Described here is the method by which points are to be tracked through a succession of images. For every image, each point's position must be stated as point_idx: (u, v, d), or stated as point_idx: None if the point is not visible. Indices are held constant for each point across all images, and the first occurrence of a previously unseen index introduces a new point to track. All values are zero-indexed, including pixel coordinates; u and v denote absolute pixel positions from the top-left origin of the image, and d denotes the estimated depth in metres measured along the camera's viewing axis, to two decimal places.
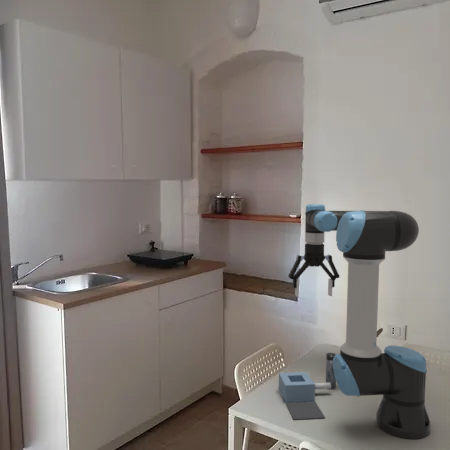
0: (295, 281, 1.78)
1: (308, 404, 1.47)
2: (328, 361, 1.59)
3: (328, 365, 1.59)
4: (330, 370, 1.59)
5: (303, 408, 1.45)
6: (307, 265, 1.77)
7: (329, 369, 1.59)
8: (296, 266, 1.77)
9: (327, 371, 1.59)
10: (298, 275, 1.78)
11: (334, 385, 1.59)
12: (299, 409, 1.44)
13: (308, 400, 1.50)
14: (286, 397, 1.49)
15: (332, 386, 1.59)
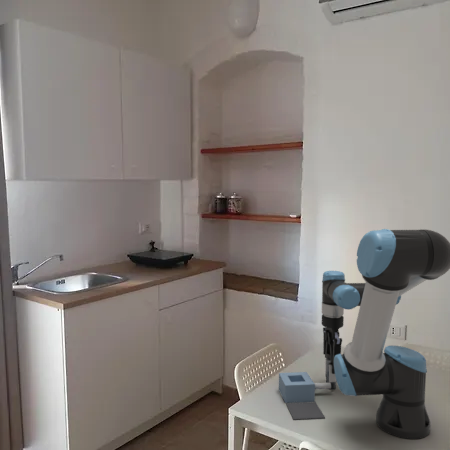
0: None
1: (308, 404, 1.47)
2: (328, 361, 1.59)
3: (328, 365, 1.59)
4: None
5: (303, 408, 1.45)
6: (325, 338, 1.61)
7: None
8: (323, 339, 1.65)
9: (327, 371, 1.59)
10: (325, 352, 1.62)
11: (334, 385, 1.59)
12: (299, 409, 1.44)
13: (308, 400, 1.50)
14: (286, 397, 1.49)
15: (332, 386, 1.59)
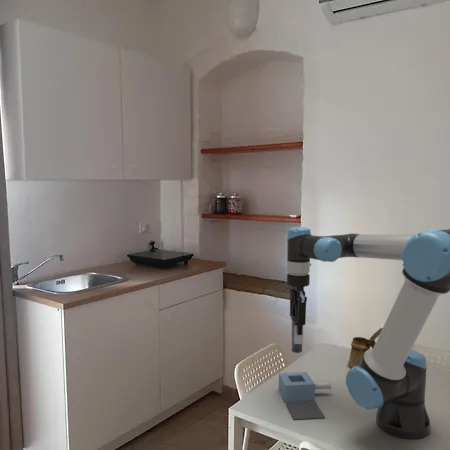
0: None
1: (308, 404, 1.47)
2: (293, 323, 1.51)
3: (294, 327, 1.51)
4: None
5: (303, 408, 1.45)
6: (291, 299, 1.53)
7: (294, 331, 1.51)
8: (290, 301, 1.57)
9: (293, 333, 1.52)
10: (291, 313, 1.55)
11: (300, 348, 1.52)
12: (299, 409, 1.44)
13: (308, 400, 1.50)
14: (286, 397, 1.49)
15: (298, 349, 1.51)
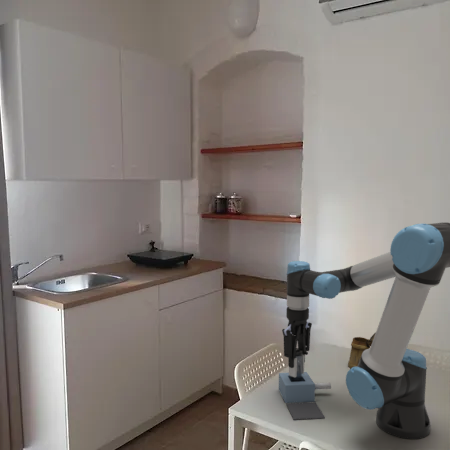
0: (293, 360, 1.51)
1: (308, 404, 1.47)
2: None
3: None
4: None
5: (303, 408, 1.45)
6: (298, 336, 1.50)
7: None
8: (290, 342, 1.48)
9: None
10: (294, 351, 1.50)
11: None
12: (299, 409, 1.44)
13: (308, 400, 1.50)
14: (286, 397, 1.49)
15: None
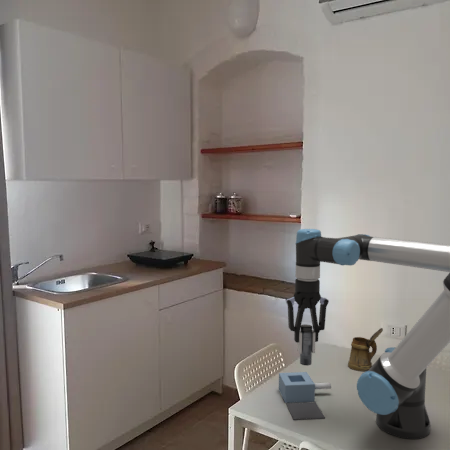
0: (297, 334, 1.40)
1: (308, 404, 1.47)
2: (310, 333, 1.40)
3: (311, 338, 1.40)
4: (311, 342, 1.41)
5: (303, 408, 1.45)
6: (302, 309, 1.39)
7: (311, 341, 1.41)
8: (291, 314, 1.39)
9: (310, 345, 1.40)
10: (299, 325, 1.40)
11: None
12: (299, 409, 1.44)
13: (308, 400, 1.50)
14: (286, 397, 1.49)
15: None
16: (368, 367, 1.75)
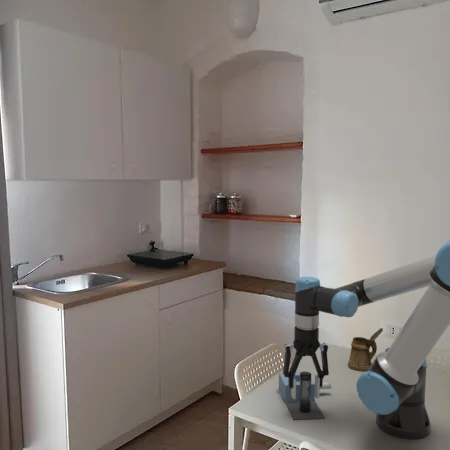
0: (291, 380, 1.42)
1: None
2: (309, 381, 1.41)
3: (310, 386, 1.42)
4: None
5: None
6: (300, 357, 1.40)
7: (310, 389, 1.42)
8: (288, 360, 1.40)
9: (309, 393, 1.42)
10: (293, 372, 1.41)
11: None
12: None
13: None
14: (286, 397, 1.49)
15: None
16: (368, 367, 1.75)
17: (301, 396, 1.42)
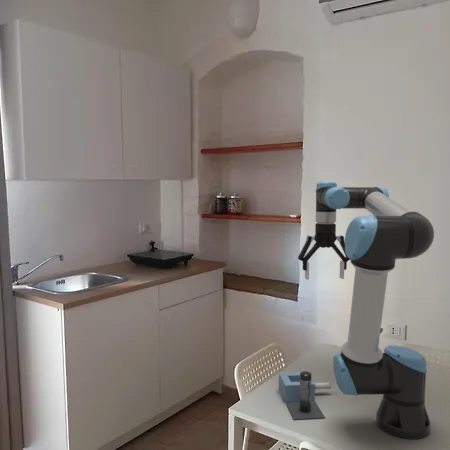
0: (305, 263, 1.69)
1: None
2: (310, 381, 1.41)
3: (310, 386, 1.42)
4: None
5: None
6: (318, 246, 1.68)
7: (310, 389, 1.42)
8: (306, 247, 1.68)
9: (309, 393, 1.42)
10: (308, 257, 1.68)
11: None
12: None
13: None
14: (286, 397, 1.49)
15: None
16: None
17: (301, 396, 1.42)
